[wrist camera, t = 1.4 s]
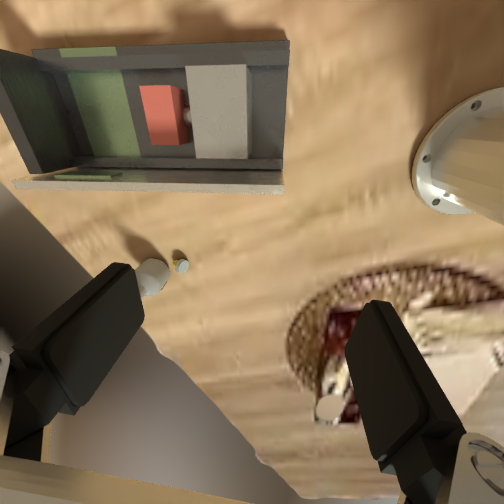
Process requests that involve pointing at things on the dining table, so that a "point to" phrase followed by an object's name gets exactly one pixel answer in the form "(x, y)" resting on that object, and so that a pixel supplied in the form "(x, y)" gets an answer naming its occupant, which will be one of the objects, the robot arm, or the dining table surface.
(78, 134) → the grey compartment tray
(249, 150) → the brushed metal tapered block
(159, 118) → the salmon pink rectangular block
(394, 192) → the dining table surface
